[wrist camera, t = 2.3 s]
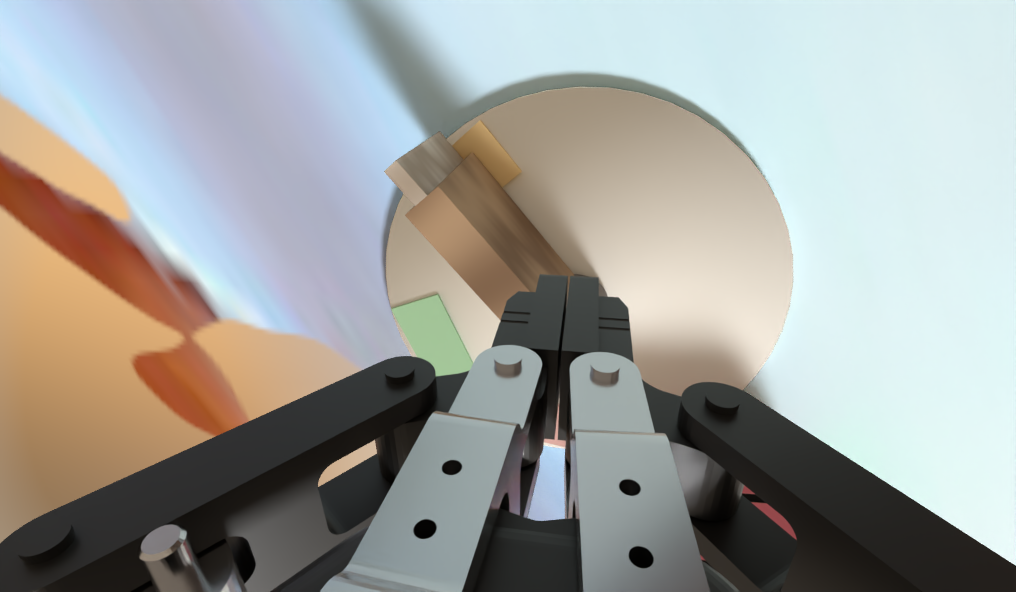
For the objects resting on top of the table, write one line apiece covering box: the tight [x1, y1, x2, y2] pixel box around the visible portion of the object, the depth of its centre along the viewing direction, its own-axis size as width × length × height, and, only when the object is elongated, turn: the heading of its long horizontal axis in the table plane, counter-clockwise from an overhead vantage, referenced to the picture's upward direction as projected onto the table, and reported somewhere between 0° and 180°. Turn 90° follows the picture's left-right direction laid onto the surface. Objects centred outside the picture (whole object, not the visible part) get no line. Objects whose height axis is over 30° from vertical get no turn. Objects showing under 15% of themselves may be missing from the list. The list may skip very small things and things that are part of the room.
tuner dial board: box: [386, 86, 793, 449], centre depth 33 cm, size 25×25×1 cm
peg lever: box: [384, 131, 608, 398], centre depth 28 cm, size 15×4×8 cm, turn 41°
